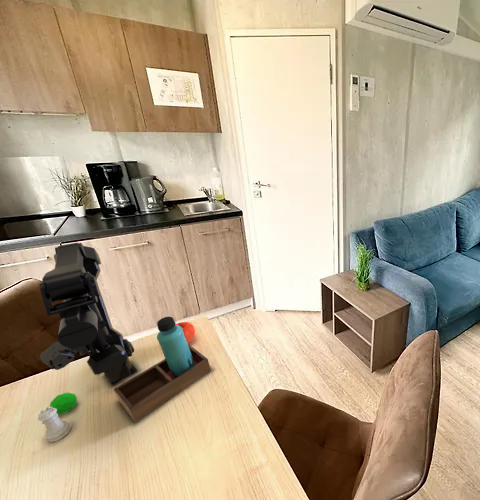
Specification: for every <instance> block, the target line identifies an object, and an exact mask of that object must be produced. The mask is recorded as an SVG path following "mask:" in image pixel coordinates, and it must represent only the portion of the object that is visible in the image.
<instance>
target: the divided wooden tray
mask: <svg viewBox="0 0 480 500" xmlns="http://www.w3.org/2000/svg"><path fill="white" fill-rule="evenodd" d="M188 347H189V349H190V350H191V351H190V352H191V353H192V358H193V361H194V362H195V363H194V366H193V367H192V368H190V369H189V370H187V371H186V372H184V373H182V374H181V375H179V376H174V375H173V374H172V373H171V371H170V368H169V366H168V364H167V363H166V362H167V361H165V360H166V359H165V358H164V359H162V360H160V361H159V362H158V363H156V364H153V365H152V366H150V367H149V368H147V369H145V370H143V371H142V372H140V373H138V374H137V375H135V376H134V377H131V378H130V379H128V380H127V381H125V382H123V383H121V384H119V385H118V386H116V387H115V388H113V391H114V393H115V396H116V398H117V400H118V401H119V403H120V404H121V406H122V407H123V408H124V410H125V411H126V412H127V414H128V415H129V416H130V418H131V419H132V420H133V421H134V422H135V423H136V424H137V423H139V422H140V421H141V420H143V419H144V418H146V417H148V415H150V414H151V413H153V412H155V410H157V409H158V408H160V407H161V406H163V405H164V404H165V403H167V402H169V401H170V400H172V399H173V398H174V397H176V396H177V395H179V394H180V393H181V392H183V391H184V390H186V389H187V388H188V387H190V386H191V385H193V384H194V383H196V382H197V381H198V380H200V379H201V378H203V377H205V376H206V375H207V374H208V373H210V372H212V369H211V365H210V362H209V359H208V357H206V356H205V355H203V354H202V353H201V352H200V351H198V350H197V349H196V348H194V347H193V346H192V345H190V344H188Z"/></svg>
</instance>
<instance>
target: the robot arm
mask: <svg viewBox="0 0 480 500" xmlns="http://www.w3.org/2000/svg"><path fill="white" fill-rule="evenodd" d="M54 251H55V254H54V255H53V260H54V262H55V264H54V269H52V270H50V271H47V272H45V274H44V275H43V276H42V278H41V282H40V283H38V285H39V291H40V294H41V298H42V301H43V305H44V307H45V311H46V314H47V316H48V317H51V316H55V315H59V317H60V322H59V326H58V327H59V328H58V334H57V341H56V342H54V343H52V345H50V346H48V347H47V348H46V349H45V350H43V351H42V352H41V353H40V355H39V358H40V359H41V361H42V363H43V364H45V365H46V366H48V367H49V368H50V370H56V371H59V370H62V369H64V368H65V367H66V366H68V365H69V364H71V363H72V362H73V361H74V360H75V358H76V357H77V356H78V355H79V354H80V356H81V357H82V356H85V355H86V354H88V359H87V361H86V363H87V365H88V367H89V370H90V371H91V372H92V373H93V374H94V376H99V375H102V374H104V377H105V379H107V381H108V382H109V384H110V385H112V386H115V385H116V384H118V383H120V382H121V381H123V380H125V379H127V378H128V377H130V376H132V375H134V374H136V373H137V372H138V368H136V366H134V364H133V363H132V362H131V361H130V357H133V354H134V353H135V351H136V350H135V348H134V346H133V344H132V342H131V341H130V340H128V339H127V338H124V336H123V334H122V332H120V331H118V330H116V329H115V328H113V325H112V322H111V319H110V316H109V313H108V310H107V307H106V304H105V301H104V299H103V295H102V293H101V290H100V287H99V283H98V278H99V276H100V273H101V267H100V265H102V261H101V257H100V255H99V253H98V251H97V250H96V249H95V248H94V247H91V246H86V245H83V243H82V242H71V243H68V244H67V243H66V244H62V245H58V246H55V247H54ZM61 301H63V302H61ZM57 302H60V303H57ZM53 303H56V304H53Z"/></svg>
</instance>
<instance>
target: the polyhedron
mask: <svg viewBox="0 0 480 500" xmlns="http://www.w3.org/2000/svg"><path fill="white" fill-rule="evenodd" d="M77 402H78V398H77V396H76V394H75V393H72V392H64V393H61V394H58V395H56V396H55V398H53V399H52V400H51V401H50V404H49V408H50V407H53V408H56V409H57V412H56V413H58V415H62V414H65V413H68V412H70V411H71V410H73V408H74V407H75V406H76V404H77Z"/></svg>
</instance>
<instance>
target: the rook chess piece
mask: <svg viewBox="0 0 480 500" xmlns="http://www.w3.org/2000/svg"><path fill="white" fill-rule="evenodd" d="M44 408H45V410H43V409H41V410H40V411H39V412H40V413H38V414H37V416H38V417H37V421H39V422H41V424H42V425H44V427H45V434H44V437H45V438H46V439H45V440H46V441H47V442H52V443H53V442H57V441H59V440H62V439H64V437H66V436H67V435H68V434H69V433H70V431H71V429H72V425H71V424H70V422H69V421H68V420H63V419H61V418H60V417H59V414H58V413H56V412H57V409H56V408H53V407H50V406H47V407H44Z"/></svg>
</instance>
